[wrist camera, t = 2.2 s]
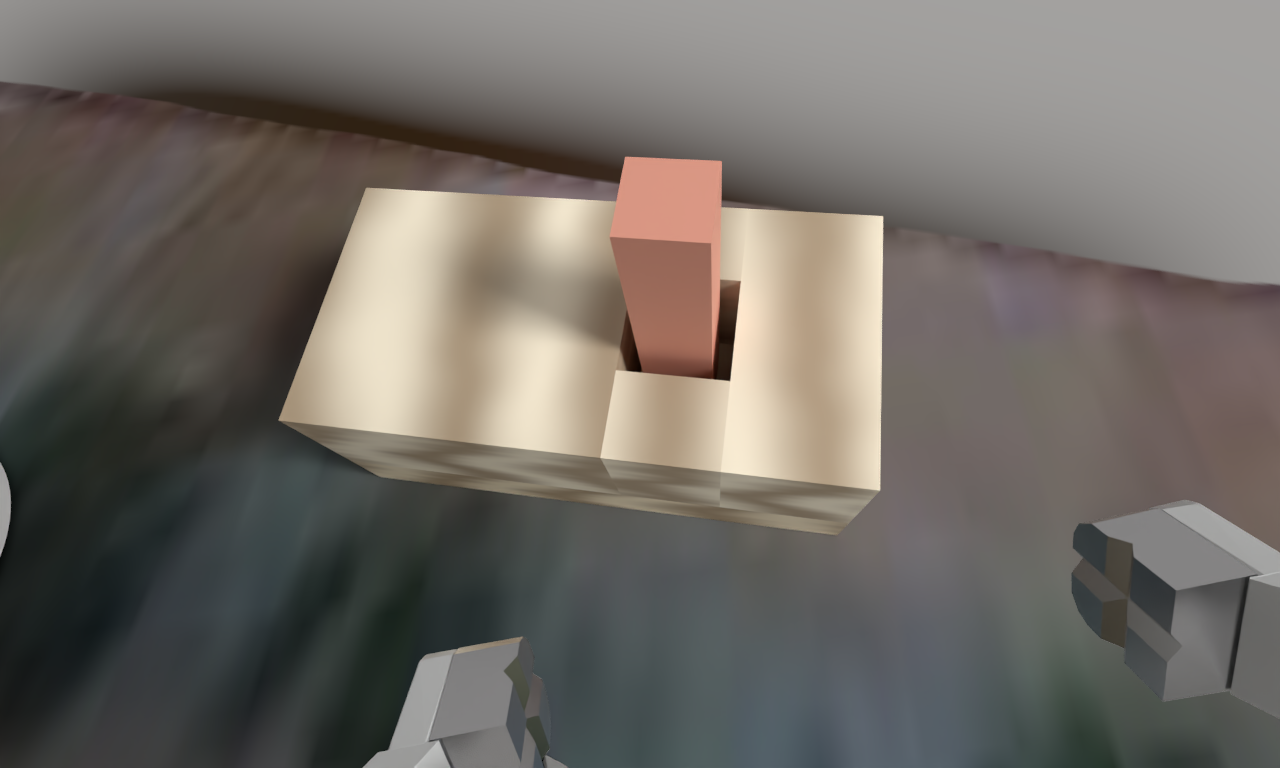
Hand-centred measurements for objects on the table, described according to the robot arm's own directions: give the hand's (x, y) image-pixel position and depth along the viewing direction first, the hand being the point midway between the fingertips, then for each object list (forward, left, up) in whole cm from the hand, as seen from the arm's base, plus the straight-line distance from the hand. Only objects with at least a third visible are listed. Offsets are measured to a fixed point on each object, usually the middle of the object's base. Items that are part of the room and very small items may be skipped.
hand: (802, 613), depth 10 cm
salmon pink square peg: (-4, +12, -19) cm, 23 cm away
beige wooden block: (-8, +12, -22) cm, 27 cm away
